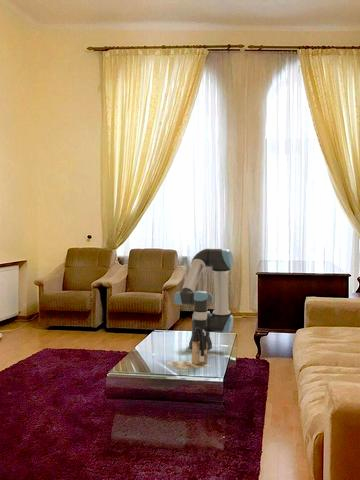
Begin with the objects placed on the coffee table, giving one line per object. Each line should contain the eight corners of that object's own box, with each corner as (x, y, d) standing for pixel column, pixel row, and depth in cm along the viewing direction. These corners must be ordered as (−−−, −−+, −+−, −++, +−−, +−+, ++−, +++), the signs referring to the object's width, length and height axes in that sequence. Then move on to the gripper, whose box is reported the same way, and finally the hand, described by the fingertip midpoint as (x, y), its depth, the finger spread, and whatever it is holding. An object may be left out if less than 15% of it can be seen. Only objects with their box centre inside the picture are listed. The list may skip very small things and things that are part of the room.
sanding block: (203, 361, 310) (203, 340, 310) (207, 364, 305) (207, 342, 305) (191, 362, 307) (192, 341, 307) (195, 364, 302) (196, 343, 302)
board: (198, 361, 315) (198, 359, 315) (210, 368, 300) (210, 366, 300) (165, 364, 307) (166, 362, 307) (176, 371, 292) (176, 369, 292)
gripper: (187, 316, 313) (186, 357, 313) (200, 321, 296) (200, 364, 296) (199, 316, 315) (198, 356, 316) (213, 321, 299) (212, 363, 299)
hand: (199, 360), depth 306 cm, fingers closed on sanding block, 5 cm apart
